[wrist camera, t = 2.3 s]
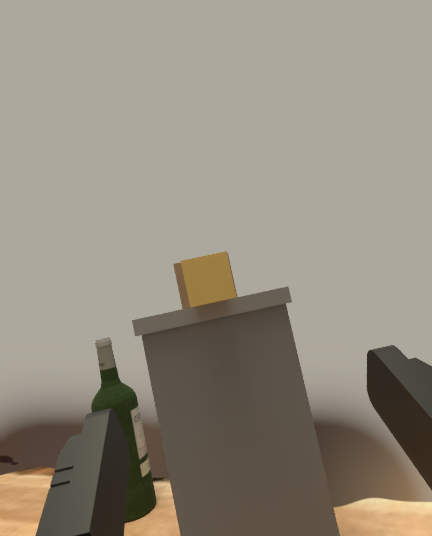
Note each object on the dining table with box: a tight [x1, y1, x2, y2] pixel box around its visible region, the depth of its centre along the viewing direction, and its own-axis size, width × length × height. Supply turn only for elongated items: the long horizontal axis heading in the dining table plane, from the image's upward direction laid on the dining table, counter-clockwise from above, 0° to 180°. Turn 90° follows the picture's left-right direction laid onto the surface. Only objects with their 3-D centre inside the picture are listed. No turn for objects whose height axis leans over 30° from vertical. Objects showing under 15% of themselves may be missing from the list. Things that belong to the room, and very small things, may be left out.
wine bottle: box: [91, 337, 156, 522], centre depth 66 cm, size 8×8×30 cm
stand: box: [132, 287, 340, 536], centre depth 42 cm, size 17×15×32 cm
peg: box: [174, 252, 237, 309], centre depth 36 cm, size 21×6×5 cm, turn 2°
